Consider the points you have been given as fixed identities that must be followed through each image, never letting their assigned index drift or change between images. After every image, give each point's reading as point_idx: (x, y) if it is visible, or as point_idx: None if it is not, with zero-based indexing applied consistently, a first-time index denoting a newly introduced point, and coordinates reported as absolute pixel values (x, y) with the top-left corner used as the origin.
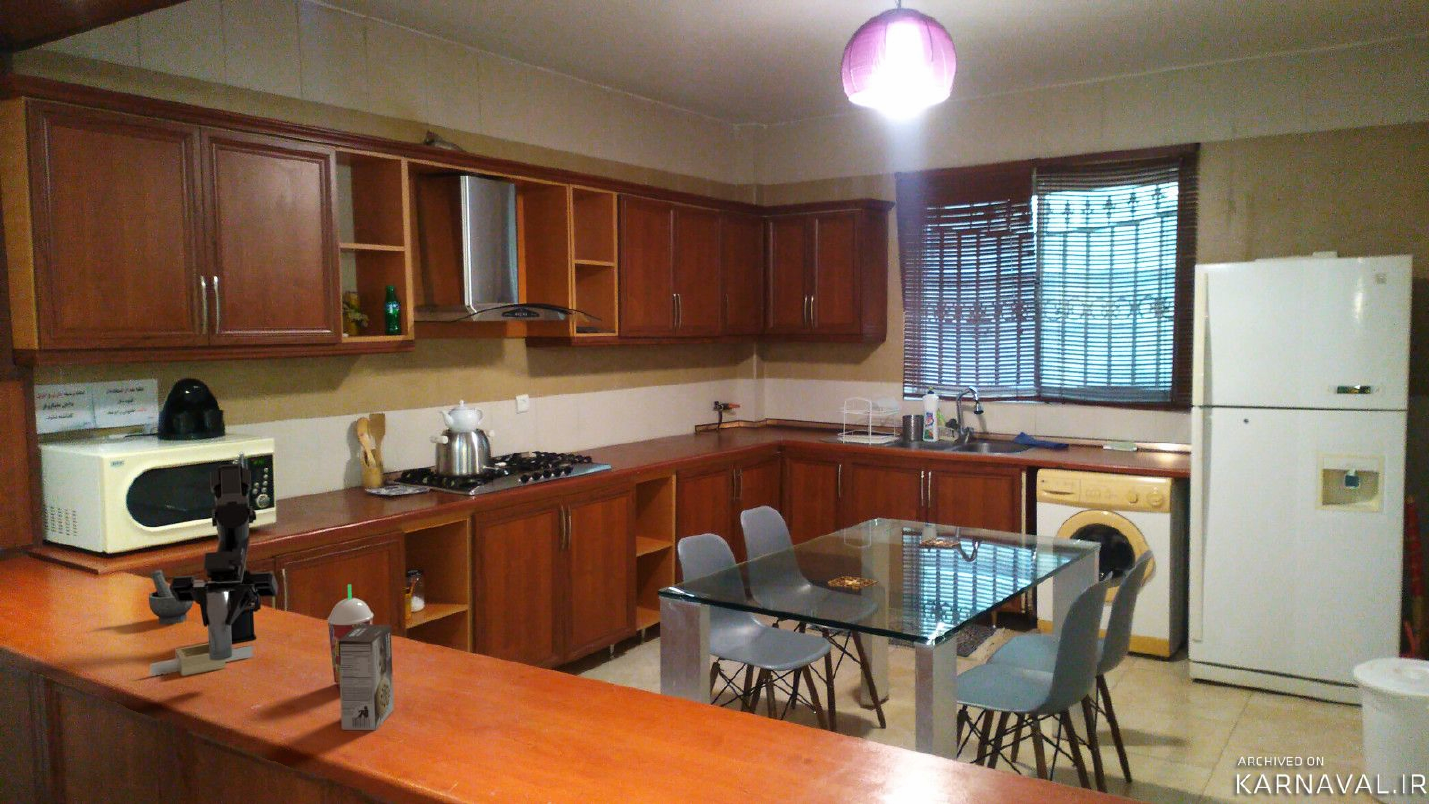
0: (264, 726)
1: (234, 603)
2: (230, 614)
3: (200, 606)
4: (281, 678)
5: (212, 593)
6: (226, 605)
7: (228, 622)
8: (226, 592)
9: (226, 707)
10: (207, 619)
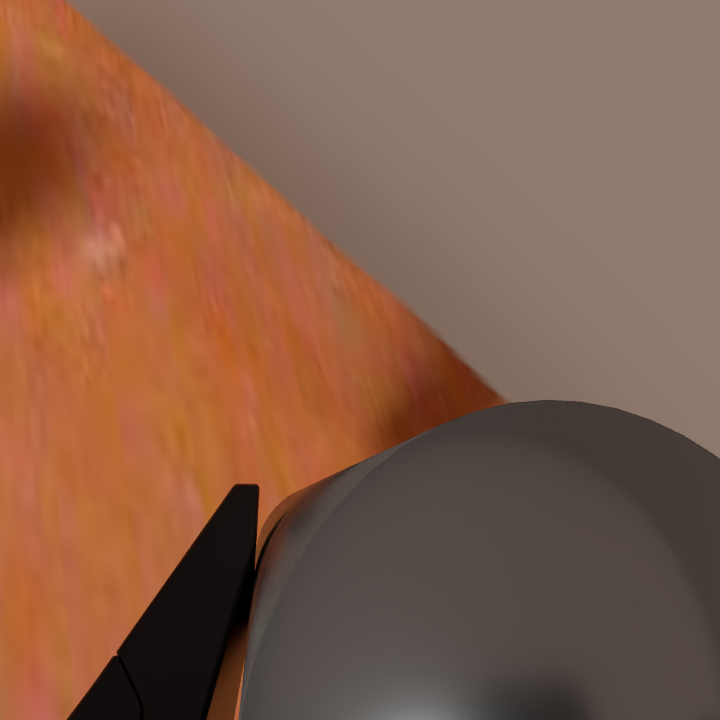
0: (46, 49)
1: (155, 701)
2: (230, 549)
3: None
4: (13, 601)
5: (672, 548)
6: (279, 537)
7: (249, 485)
8: (283, 600)
9: (226, 266)
10: None
